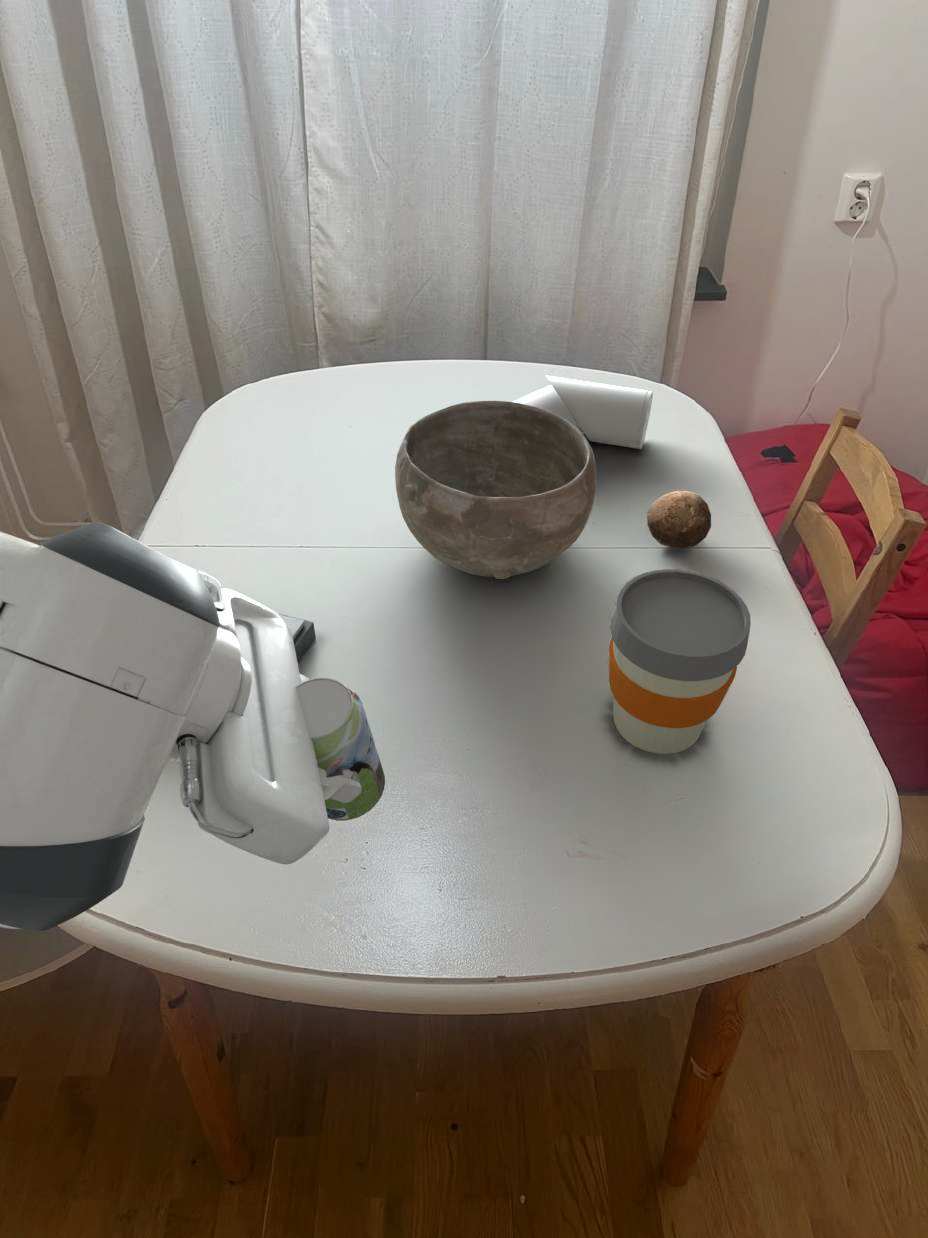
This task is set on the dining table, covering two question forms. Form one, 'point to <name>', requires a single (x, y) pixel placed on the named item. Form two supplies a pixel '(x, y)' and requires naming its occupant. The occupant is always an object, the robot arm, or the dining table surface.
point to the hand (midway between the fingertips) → (346, 752)
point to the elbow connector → (597, 409)
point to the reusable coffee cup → (673, 656)
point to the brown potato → (679, 519)
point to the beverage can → (342, 742)
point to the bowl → (495, 486)
